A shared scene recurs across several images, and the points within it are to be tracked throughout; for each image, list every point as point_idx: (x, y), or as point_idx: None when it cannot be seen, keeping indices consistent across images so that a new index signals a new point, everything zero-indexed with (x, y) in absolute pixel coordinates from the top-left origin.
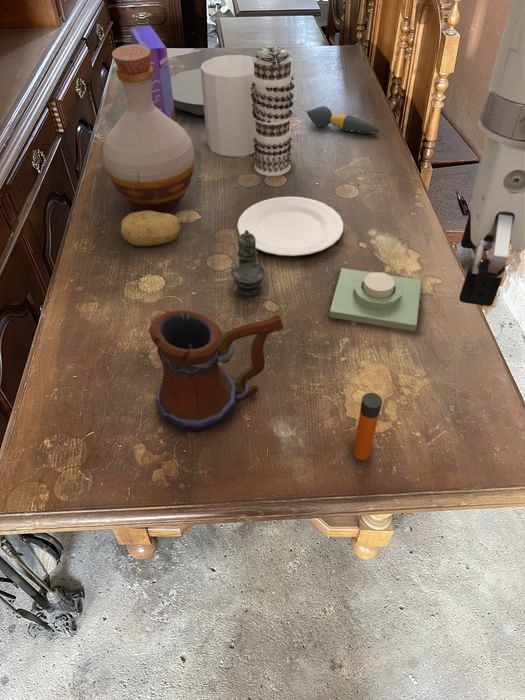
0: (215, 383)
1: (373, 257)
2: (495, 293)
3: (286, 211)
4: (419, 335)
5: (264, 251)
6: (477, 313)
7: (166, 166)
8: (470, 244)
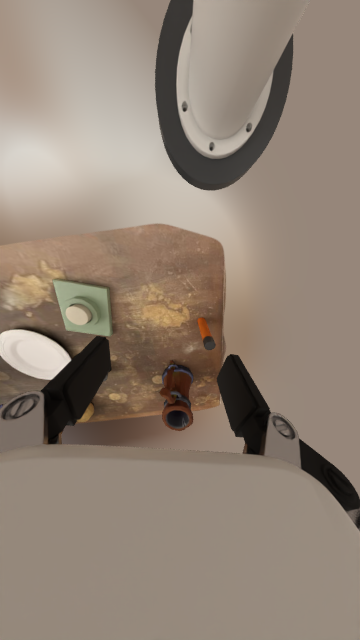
0: (182, 385)
1: (40, 308)
2: (246, 371)
3: (22, 358)
4: (111, 284)
5: None
6: (70, 235)
7: None
8: (106, 365)
